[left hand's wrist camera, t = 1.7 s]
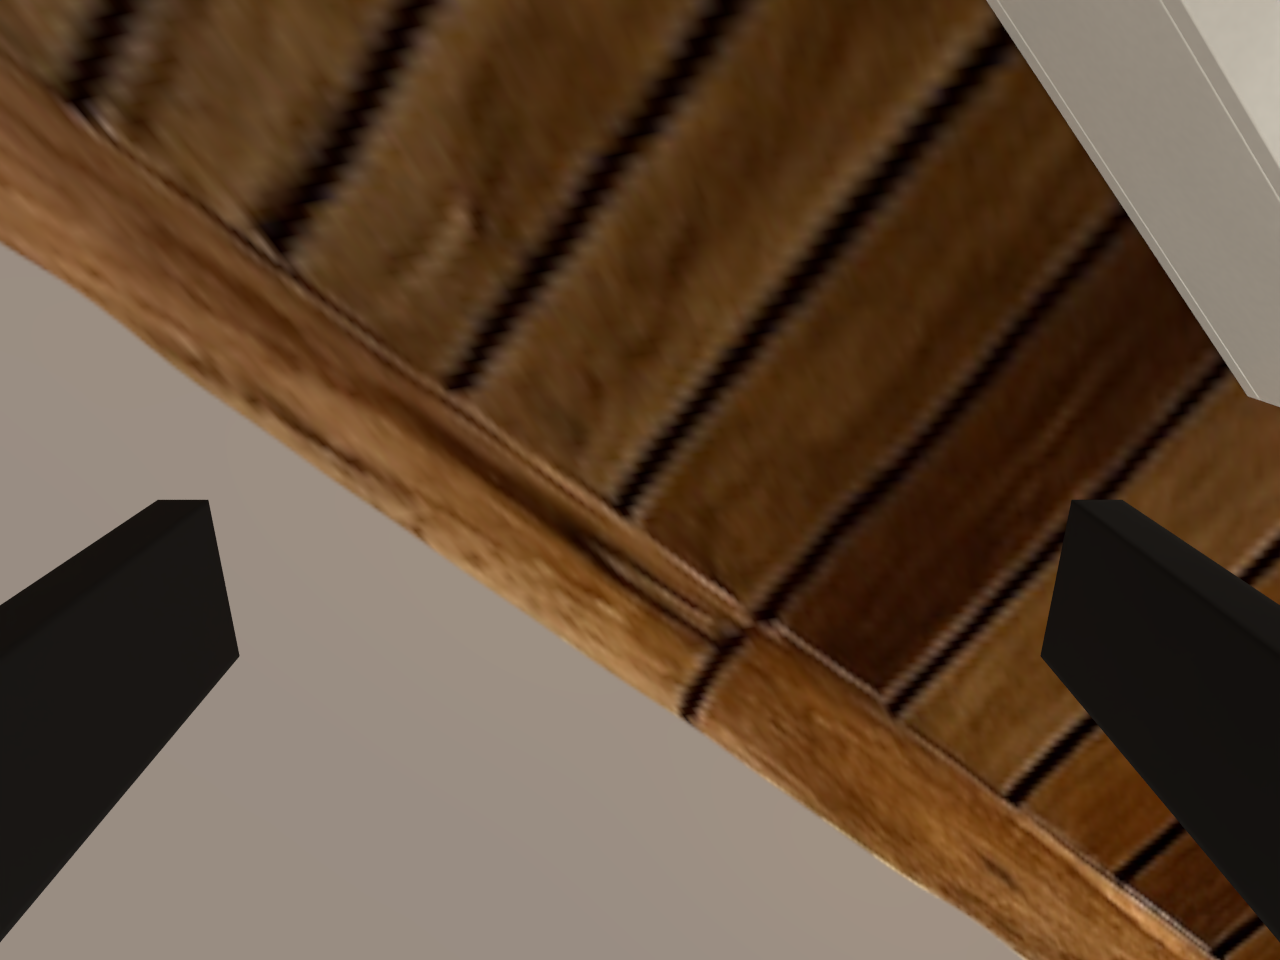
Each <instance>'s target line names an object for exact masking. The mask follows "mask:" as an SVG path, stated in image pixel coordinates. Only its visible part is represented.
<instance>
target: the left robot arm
mask: <svg viewBox="0 0 1280 960" xmlns="http://www.w3.org/2000/svg"><path fill="white" fill-rule="evenodd" d="M238 657H239V651H238V646H237V641H236V636H235V631H234V626H233V621H232V617H231V611H230V606H229V601H228V596H227V591H226V586H225V581H224V576H223V571H222V566H221V561H220V556H219V551H218V546H217V541H216V536H215V531H214V526H213V521H212V516H211V511H210V506H209V501H208V500H157V501H156V502H154V503H153V504H151V505H150V506H148V507H147V508H145V509H144V510H142V511H141V512H139V513H138V514H136V515H135V516H133V517H132V518H130V519H129V520H127V521H126V522H124V523H123V524H121V525H120V526H118V527H117V528H115V529H114V530H112V531H111V532H109V533H108V534H106V535H105V536H103V537H102V538H100V539H99V540H97V541H96V542H94V543H93V544H91V545H90V546H88V547H87V548H85V549H84V550H82V551H81V552H79V553H78V554H76V555H75V556H73V557H72V558H70V559H69V560H67V561H66V562H64V563H63V564H61V565H60V566H58V567H57V568H55V569H54V570H52V571H51V572H49V573H48V574H46V575H45V576H43V577H42V578H40V579H39V580H37V581H36V582H34V583H33V584H31V585H30V586H28V587H27V588H26V589H24V590H22V591H21V592H19V593H18V594H17V595H15V596H14V597H12V598H11V599H9V600H8V601H6V602H5V603H3V604H2V605H0V942H1V941H2V939H3V938H4V937H5V936H6V935H7V933H8V932H9V931H10V930H11V929H12V927H13V926H14V925H15V924H16V923H17V921H18V920H19V919H20V918H21V917H22V916H23V914H24V913H25V912H26V911H27V909H28V908H29V907H30V906H31V905H32V903H33V902H34V901H35V900H36V899H37V898H38V896H39V895H40V894H41V893H42V892H43V890H44V889H45V888H46V887H47V886H48V884H49V883H50V882H51V881H52V880H53V878H54V877H55V876H56V875H57V874H58V872H59V871H60V870H61V869H62V868H63V867H64V865H65V864H66V863H67V862H68V860H69V859H70V858H71V857H72V856H73V855H74V853H75V852H76V851H77V850H78V849H79V847H80V846H81V845H82V844H83V843H84V841H85V840H86V839H87V838H88V837H89V835H90V834H91V833H92V832H93V831H94V829H95V828H96V827H97V826H98V825H99V823H100V822H101V821H102V820H103V819H104V817H105V816H106V815H107V814H108V813H109V812H110V810H111V809H112V808H113V807H114V806H115V804H116V803H117V802H118V801H119V800H120V798H121V797H122V796H123V795H124V794H125V792H126V791H127V790H128V789H129V788H130V786H131V785H132V784H133V783H134V782H135V780H136V779H137V778H138V777H139V776H140V774H141V773H142V772H143V771H144V770H145V768H146V767H147V766H148V765H149V764H150V762H151V761H152V760H153V759H154V758H155V756H156V755H157V754H158V753H159V752H160V751H161V749H162V748H163V747H164V746H165V745H166V743H167V742H168V741H169V740H170V739H171V737H172V736H173V735H174V734H175V733H176V731H177V730H178V729H179V728H180V727H181V725H182V724H183V723H184V722H185V721H186V719H187V718H188V717H189V716H190V715H191V713H192V712H193V711H194V710H195V709H196V708H197V706H198V705H199V704H200V703H201V702H202V700H203V699H204V698H205V697H206V696H207V694H208V693H209V692H210V691H211V690H212V688H213V687H214V686H215V685H216V684H217V682H218V681H219V680H220V679H221V678H222V676H223V675H224V674H225V673H226V672H227V670H228V669H229V668H230V667H231V666H232V664H233V663H234V662H235V661H236V660H237V658H238ZM1041 657H1042V658H1043V660H1044V661H1045V662H1046V663H1047V664H1048V666H1049V667H1050V668H1051V669H1052V670H1053V672H1054V673H1055V674H1056V675H1057V676H1058V678H1059V679H1060V680H1061V681H1062V682H1063V684H1064V685H1065V686H1066V687H1067V688H1068V690H1069V691H1070V692H1071V693H1072V694H1073V696H1074V697H1075V698H1076V699H1077V700H1078V702H1079V703H1080V704H1081V705H1082V706H1083V708H1084V709H1085V710H1086V711H1087V712H1088V713H1089V715H1090V716H1091V717H1092V718H1093V719H1094V721H1095V722H1096V723H1097V724H1098V725H1099V727H1100V728H1101V729H1102V730H1103V731H1104V733H1105V734H1106V735H1107V736H1108V737H1109V739H1110V740H1111V741H1112V742H1113V743H1114V745H1115V746H1116V747H1117V748H1118V749H1119V751H1120V752H1121V753H1122V754H1123V755H1124V757H1125V758H1126V759H1127V760H1128V761H1129V762H1130V764H1131V765H1132V766H1133V767H1134V768H1135V770H1136V771H1137V772H1138V773H1139V774H1140V776H1141V777H1142V778H1143V779H1144V780H1145V782H1146V783H1147V784H1148V785H1149V786H1150V788H1151V789H1152V790H1153V791H1154V792H1155V794H1156V795H1157V796H1158V797H1159V798H1160V800H1161V801H1162V802H1163V803H1164V804H1165V806H1166V807H1167V808H1168V809H1169V810H1170V812H1171V813H1172V814H1173V815H1174V816H1175V817H1176V819H1177V820H1178V821H1179V822H1180V823H1181V825H1182V826H1183V827H1184V828H1185V829H1186V831H1187V832H1188V833H1189V834H1190V835H1191V837H1192V838H1193V839H1194V840H1195V841H1196V843H1197V844H1198V845H1199V846H1200V847H1201V849H1202V850H1203V851H1204V852H1205V853H1206V855H1207V856H1208V857H1209V858H1210V859H1211V861H1212V862H1213V863H1214V864H1215V865H1216V867H1217V868H1218V869H1219V870H1220V871H1221V872H1222V874H1223V875H1224V876H1225V877H1226V878H1227V880H1228V881H1229V882H1230V883H1231V884H1232V886H1233V887H1234V888H1235V889H1236V890H1237V892H1238V893H1239V894H1240V895H1241V896H1242V898H1243V899H1244V900H1245V901H1246V902H1247V904H1248V905H1249V906H1250V907H1251V908H1252V910H1253V911H1254V912H1255V913H1256V914H1257V916H1258V917H1259V918H1260V919H1261V920H1262V921H1263V923H1264V924H1265V925H1266V926H1267V927H1268V929H1269V930H1270V931H1271V932H1272V933H1273V935H1274V936H1275V937H1276V938H1277V939H1278V941H1279V942H1280V605H1278V604H1277V603H1275V602H1274V601H1272V600H1271V599H1269V598H1268V597H1267V596H1265V595H1264V594H1262V593H1261V592H1259V591H1258V590H1256V589H1255V588H1253V587H1252V586H1250V585H1249V584H1247V583H1246V582H1244V581H1243V580H1241V579H1240V578H1238V577H1237V576H1235V575H1234V574H1232V573H1231V572H1229V571H1228V570H1226V569H1225V568H1223V567H1222V566H1220V565H1219V564H1217V563H1216V562H1214V561H1213V560H1211V559H1210V558H1208V557H1207V556H1205V555H1204V554H1202V553H1201V552H1199V551H1198V550H1196V549H1195V548H1193V547H1192V546H1190V545H1189V544H1187V543H1186V542H1184V541H1183V540H1181V539H1180V538H1178V537H1177V536H1175V535H1174V534H1172V533H1171V532H1169V531H1168V530H1166V529H1165V528H1163V527H1162V526H1160V525H1159V524H1157V523H1156V522H1154V521H1153V520H1151V519H1150V518H1148V517H1147V516H1145V515H1144V514H1142V513H1141V512H1139V511H1138V510H1136V509H1135V508H1133V507H1132V506H1130V505H1129V504H1128V503H1126V502H1125V501H1123V500H1072V501H1071V506H1070V511H1069V516H1068V521H1067V526H1066V531H1065V536H1064V541H1063V546H1062V551H1061V556H1060V561H1059V566H1058V571H1057V576H1056V581H1055V586H1054V591H1053V596H1052V601H1051V606H1050V611H1049V616H1048V621H1047V626H1046V631H1045V636H1044V641H1043V646H1042V651H1041Z"/></svg>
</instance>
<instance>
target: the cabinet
mask: <svg viewBox="0 0 1280 960" xmlns="http://www.w3.org/2000/svg"><path fill="white" fill-rule="evenodd" d="M987 2H988V3H989V5H990V6H991V8H992V9H993V11H994V13H995V14H996V16H997V17H998V19H999V20H1000V22H1001V23H1002V25H1003V26H1004V28H1005V29H1006V31H1007V32H1008V34H1009V35H1010V37H1011V38H1012V40H1013V41H1014V43H1015V44H1016V46H1017V47H1018V49H1019V50H1020V52H1021V53H1022V55H1023V56H1024V58H1025V59H1026V61H1027V63H1028V64H1029V66H1030V67H1031V69H1032V70H1033V72H1034V73H1035V75H1036V76H1037V78H1038V79H1039V81H1040V82H1041V84H1042V85H1043V87H1044V88H1045V90H1046V91H1047V93H1048V94H1049V96H1050V97H1051V99H1052V100H1053V102H1054V103H1055V105H1056V106H1057V108H1058V109H1059V111H1060V112H1061V114H1062V116H1063V117H1064V119H1065V120H1066V122H1067V123H1068V125H1069V126H1070V128H1071V129H1072V131H1073V132H1074V134H1075V135H1076V137H1077V138H1078V140H1079V141H1080V143H1081V144H1082V146H1083V147H1084V149H1085V150H1086V152H1087V153H1088V155H1089V156H1090V158H1091V159H1092V161H1093V162H1094V164H1095V166H1096V167H1097V169H1098V170H1099V172H1100V173H1101V175H1102V176H1103V178H1104V179H1105V181H1106V182H1107V184H1108V185H1109V187H1110V188H1111V190H1112V191H1113V193H1114V194H1115V196H1116V197H1117V199H1118V200H1119V202H1120V203H1121V205H1122V206H1123V208H1124V209H1125V211H1126V212H1127V214H1128V216H1129V217H1130V219H1131V220H1132V222H1133V223H1134V225H1135V226H1136V228H1137V229H1138V231H1139V232H1140V234H1141V235H1142V237H1143V238H1144V240H1145V241H1146V243H1147V244H1148V246H1149V247H1150V249H1151V250H1152V252H1153V253H1154V255H1155V256H1156V258H1157V259H1158V261H1159V262H1160V264H1161V265H1162V267H1163V269H1164V270H1165V272H1166V273H1167V275H1168V276H1169V278H1170V279H1171V281H1172V282H1173V284H1174V285H1175V287H1176V288H1177V290H1178V291H1179V293H1180V294H1181V296H1182V297H1183V299H1184V300H1185V302H1186V303H1187V305H1188V306H1189V308H1190V309H1191V311H1192V312H1193V314H1194V315H1195V317H1196V319H1197V320H1198V322H1199V323H1200V325H1201V326H1202V328H1203V329H1204V331H1205V332H1206V334H1207V335H1208V337H1209V338H1210V340H1211V341H1212V343H1213V344H1214V346H1215V347H1216V349H1217V350H1218V352H1219V353H1220V355H1221V356H1222V358H1223V359H1224V361H1225V362H1226V364H1227V365H1228V367H1229V369H1230V370H1231V372H1232V373H1233V375H1234V376H1235V378H1236V379H1237V381H1238V382H1239V384H1240V385H1241V387H1242V388H1243V390H1244V391H1245V393H1246V394H1247V396H1249V397H1252V398H1255V399H1257V400H1261V401H1264V402H1267V403H1270V404H1272V405H1275V406H1278V407H1280V0H987Z"/></svg>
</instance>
